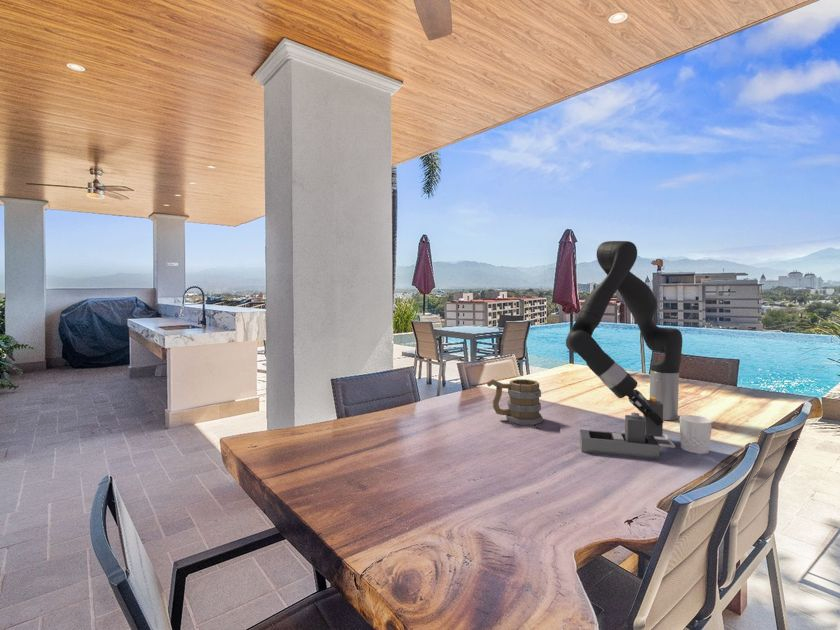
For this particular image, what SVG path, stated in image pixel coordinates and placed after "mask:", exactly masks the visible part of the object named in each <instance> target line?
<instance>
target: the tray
mask: <svg viewBox="0 0 840 630" xmlns="http://www.w3.org/2000/svg"><path fill="white" fill-rule="evenodd" d="M662 438H665V439H666V441H667V442H668V443H669V444H668V443H667V444H666V443H665V444H664V443H658V444H659V445H660V447H664V448H673V449H675V448H676V445H675V444H674V442H673V441H672V440H671V439H670V437H669V436H668V435H667V434H665V433H663V435H662Z"/></svg>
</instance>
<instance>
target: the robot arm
mask: <svg viewBox="0 0 840 630" xmlns="http://www.w3.org/2000/svg"><path fill="white" fill-rule="evenodd" d="M637 257H638V249H637V246H636V244H635V243H633V242H632V241H628V240H612V241H611V240H608V241H604V242H602V243H601V244H599V245H598V247H597V249H596V260H597V263H598V264H599V266H600V267H601V269H602V271H604V273H605V274H606V277H605V278H604V279H603V280H602V282H600V283H599V284H598V285H597V286H596V287H595V288H594V289H593V290H592V291H591V292H590V293H589V294H588V295H587V296H586V298H585V299H584V301H583V303H582V306H581V307H580V310H579V312H578V315H577V318H576V319H575V322H574V323H573V325H572V326H571V328H570V331H569V333H568V335H567V337H566V339H565V346H566V348H567V349H568V351H570V352H571V353H574V354H578V355H579V357H581V359H582V360H583V361H585V362H586V365H587V367H588V368H589V369H590V370H591V371H592V372H593V373H594V374H595V376H597V377H598V378H599V380H600V381H601V382H602V383H603V384H604V385H605V386H606V387H607V388H608V389H609V390H610V391H611V392H612V393H613V394H614V395H615V396H616V397H617V398H618V399H624V398H625V397H628V401H629V402H630V404H631V405H633V406H634V407H635V408H636V409H637V410H638V411H639V412H641V414H644V415H645V416H646V417H649V418H650V419H651V420H652V421H653V422H654V423H655V424H656V425H657V426H660V425H661V424H662V423H663V424H664V423H665V422H664V421H676V420H678V419H679V413H678V412H679V391H680V389H679V388H680V387H679V386H680V367H681V362H682V352H683V335H682V332H681V331H680V329H678V328H671V327H659V326H657V324H656V322H655V321H654V316H655V314H656V312H657V307H658V302H657V301H658V300H657V299H656V297H655V295H654V293H653V291H652V289H651V288H650V287H649V285H648V284H647V283H645V282H644V281H643V279H641V278H640V277H638V276H637V275H636V274H634V273H633V272H631V270H632V268H633V267H634V265H635V263H636V260H637ZM616 292H618V293H619V294H620V296H621V299H622V300H623V302H624V304H625V305H626V307H627V309H628V311H629V313H630V314H631V316H632V317H633V318H634V320H635V323H636V324H637V326H638V328H639V331H640V332H641V333H640V334H641V336H642V338H643V340H644V342H645V345H646V347H647V348H648V349H649V350H650V351H653V352H656V353H662V354H663V353H664V356H663V358H662V359H660V360H655V361H652V362H651V363H650V367H649V368H650V370H649V373H650V374H649V376H650V377H649V398H650V397H655V398H657V400H660V401H661V402H662V403H663V420H662V419H661V418H660V417H659V416H658V415H657V414H656V413H655V412H654V410H652V409H651V408H650V407H649V403H648V402H647V401H646V400H648V399H647V398H646V397H645V396H644V395H643V394H642V392H641V391H640V390H638V389H636V388H637V386H638V383H639V382H638V381H637V380H636V379H635V378H634V377H633V376H631V375H630V373H629V372H627V371H626V370H625V369H624V367H623V366H621V365H620V364H618V363H617V362H616V361H615V360H614V359H613V358H612V357H611V356H610V355H608V353H606V351H605V350H603V349H602V347H601V346H600V344H599V343H598V342H597V340H595V339H594V337H593V334H594V332H595V329H597V327H598V326H599V325H600V323H601V321H602V319H603V317H604V314H605V313H606V309H607V308H608V305H609V304H610V302H611V300H612V298H613V297H614V295H615V294H616ZM645 403H646V404H645ZM645 409H648V410H649V411H647V412H645V411H644V410H645Z"/></svg>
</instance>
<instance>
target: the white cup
mask: <svg viewBox="0 0 840 630" xmlns="http://www.w3.org/2000/svg"><path fill="white" fill-rule="evenodd" d="M712 423H713V420H712V419H711V418H707V417H706V416H700V415H694V414H683V415H680V416H679V438H680V440H679V441H680V448H681V449H682V450H683V451H686V452H688V453H689V452H690V453H693V454H701V455H704V454H709V451H710V445H711V438H712V437H711V435H712V425H713V424H712Z"/></svg>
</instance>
